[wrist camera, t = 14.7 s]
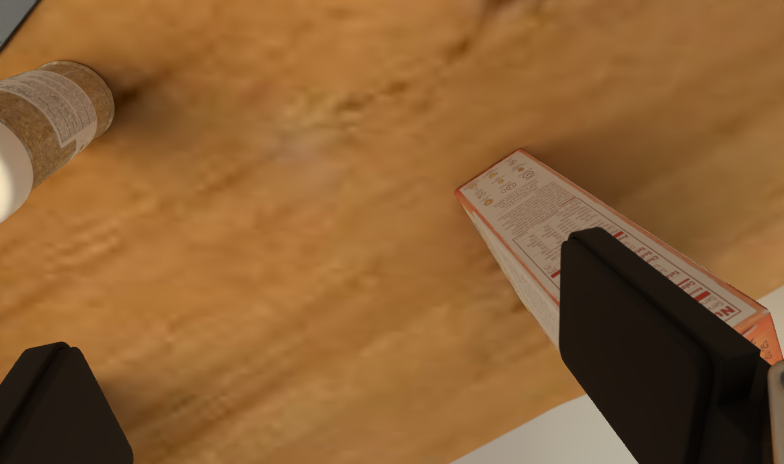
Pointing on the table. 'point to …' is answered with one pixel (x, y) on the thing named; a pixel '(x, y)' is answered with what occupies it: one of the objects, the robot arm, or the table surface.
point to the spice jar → (47, 125)
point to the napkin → (13, 16)
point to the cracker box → (578, 212)
